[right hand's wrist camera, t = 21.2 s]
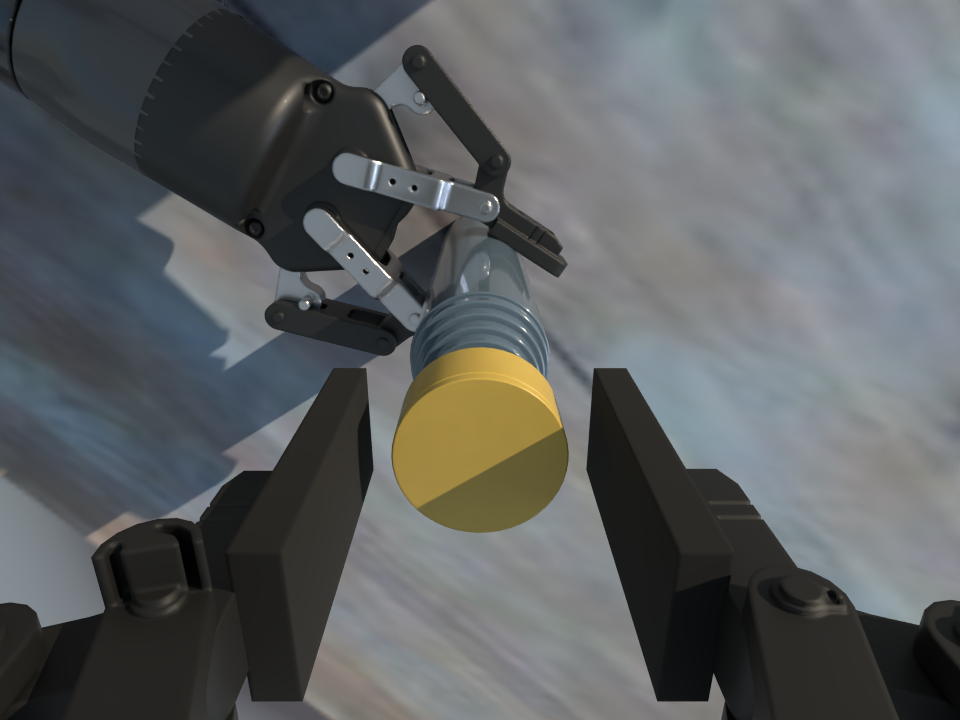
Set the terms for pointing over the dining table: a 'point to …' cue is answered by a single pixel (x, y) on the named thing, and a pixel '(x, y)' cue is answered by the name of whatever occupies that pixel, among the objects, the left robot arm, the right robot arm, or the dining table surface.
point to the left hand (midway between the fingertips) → (529, 309)
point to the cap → (480, 441)
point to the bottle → (478, 301)
